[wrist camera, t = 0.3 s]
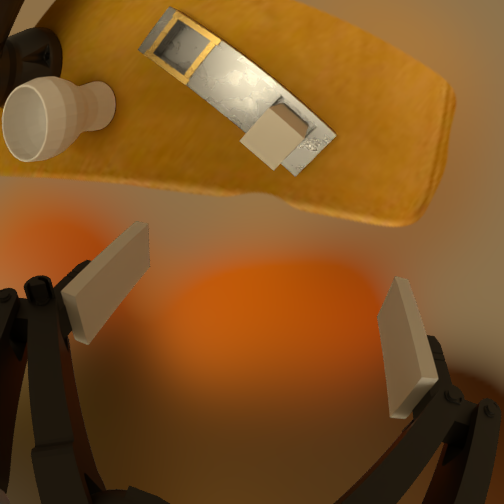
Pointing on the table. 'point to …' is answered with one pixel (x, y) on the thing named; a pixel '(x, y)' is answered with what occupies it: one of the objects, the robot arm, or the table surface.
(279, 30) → the table surface
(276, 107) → the peg
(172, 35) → the grey peg hole board
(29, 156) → the cup
